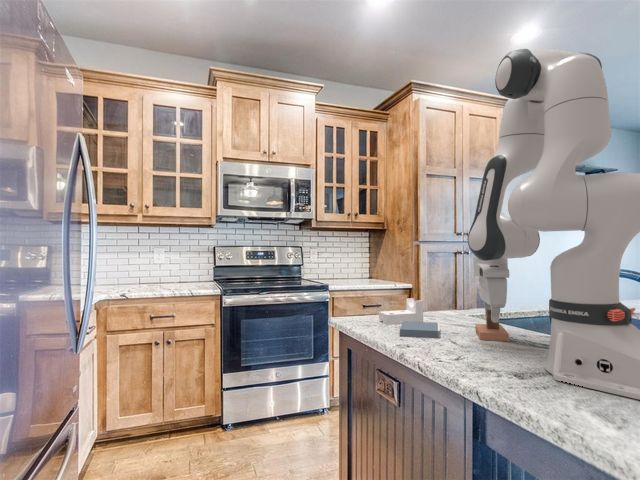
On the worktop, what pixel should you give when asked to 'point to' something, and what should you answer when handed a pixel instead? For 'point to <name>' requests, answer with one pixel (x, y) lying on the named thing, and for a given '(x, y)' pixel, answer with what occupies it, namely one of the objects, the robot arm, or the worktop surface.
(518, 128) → the robot arm
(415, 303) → the bracket
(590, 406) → the worktop surface
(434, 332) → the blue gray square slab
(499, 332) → the stub
